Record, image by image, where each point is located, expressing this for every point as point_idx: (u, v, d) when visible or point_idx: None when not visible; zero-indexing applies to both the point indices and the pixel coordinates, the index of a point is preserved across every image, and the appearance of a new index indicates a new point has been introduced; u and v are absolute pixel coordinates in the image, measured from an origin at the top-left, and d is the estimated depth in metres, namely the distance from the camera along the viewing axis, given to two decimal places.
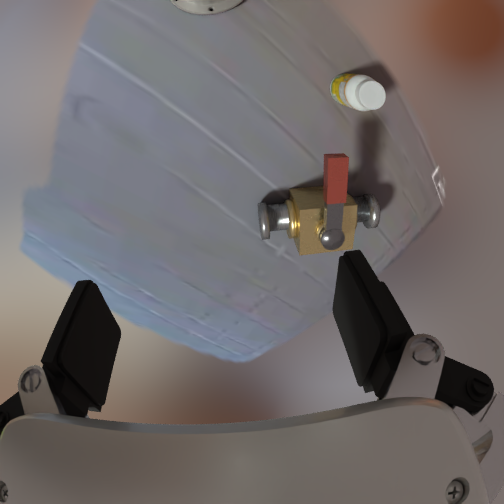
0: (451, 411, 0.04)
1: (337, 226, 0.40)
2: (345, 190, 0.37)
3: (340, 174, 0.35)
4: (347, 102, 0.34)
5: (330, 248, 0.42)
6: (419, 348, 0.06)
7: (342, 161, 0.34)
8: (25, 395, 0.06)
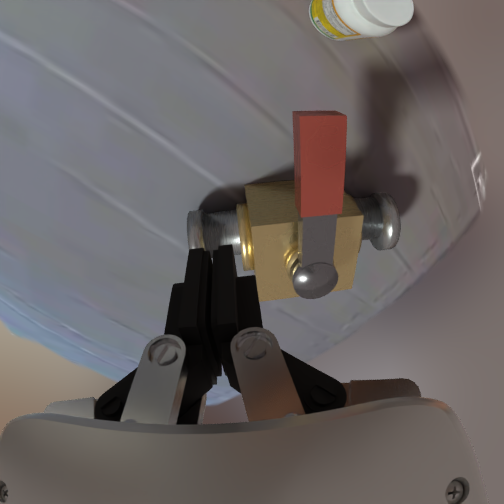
0: (451, 411, 0.04)
1: (324, 258, 0.21)
2: (340, 188, 0.17)
3: (329, 153, 0.16)
4: (339, 20, 0.14)
5: (310, 296, 0.23)
6: (246, 346, 0.07)
7: (332, 124, 0.15)
8: (161, 369, 0.07)
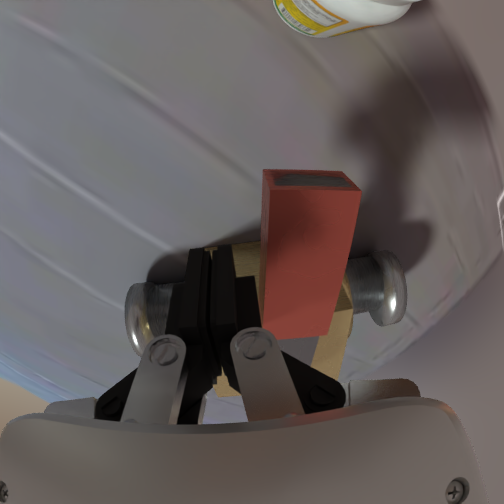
0: (451, 411, 0.04)
1: None
2: (330, 305, 0.11)
3: (319, 255, 0.09)
4: (310, 0, 0.08)
5: None
6: (246, 346, 0.07)
7: (333, 206, 0.08)
8: (161, 369, 0.07)
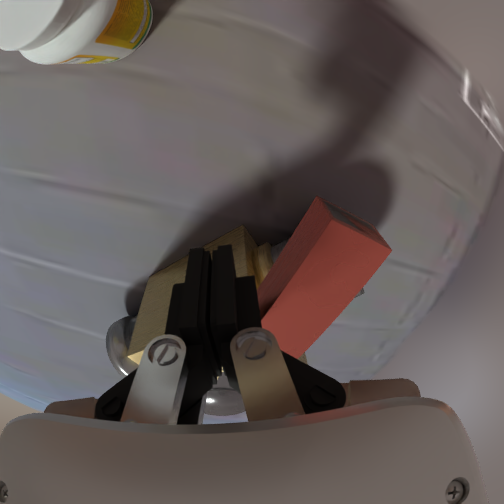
0: (451, 411, 0.04)
1: None
2: (316, 333, 0.12)
3: (334, 289, 0.10)
4: None
5: (206, 412, 0.16)
6: (246, 346, 0.07)
7: (367, 253, 0.09)
8: (161, 369, 0.07)
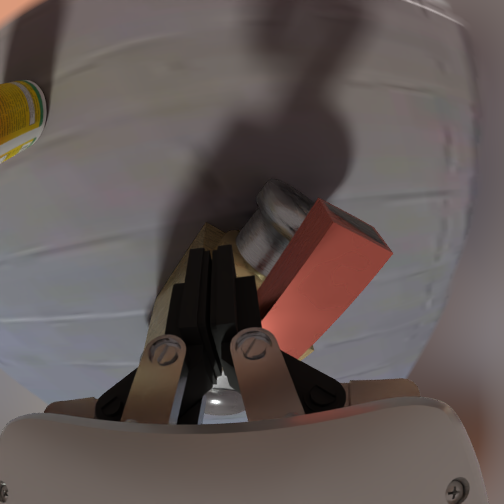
0: (451, 411, 0.04)
1: None
2: (316, 335, 0.12)
3: (334, 291, 0.10)
4: None
5: (205, 411, 0.16)
6: (246, 346, 0.07)
7: (368, 256, 0.09)
8: (161, 369, 0.07)
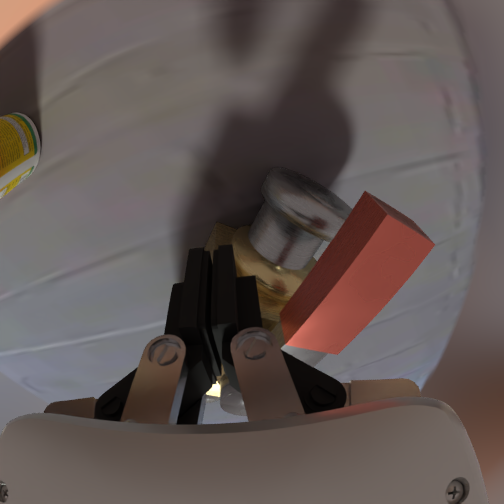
0: (451, 411, 0.04)
1: None
2: (359, 328, 0.11)
3: (381, 283, 0.10)
4: None
5: (236, 412, 0.16)
6: (246, 346, 0.07)
7: (414, 248, 0.09)
8: (161, 369, 0.07)
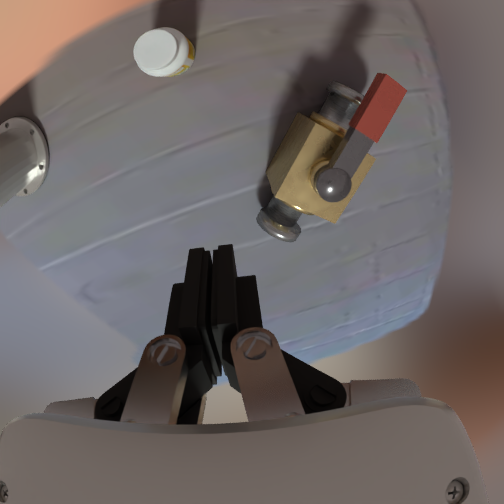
0: (451, 411, 0.04)
1: (349, 169, 0.27)
2: (384, 126, 0.24)
3: (389, 102, 0.22)
4: (168, 75, 0.24)
5: (324, 196, 0.28)
6: (246, 345, 0.07)
7: (398, 89, 0.22)
8: (160, 369, 0.07)
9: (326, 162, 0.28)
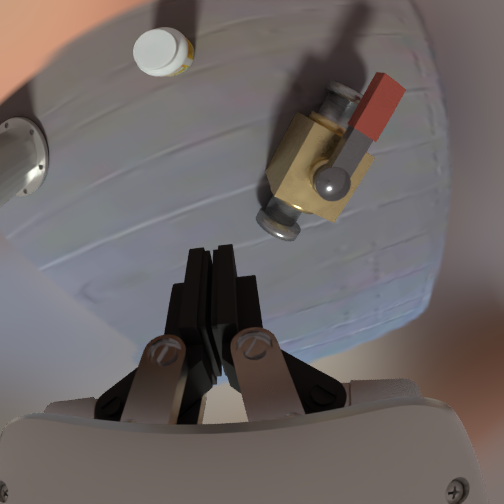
0: (451, 411, 0.04)
1: (348, 168, 0.27)
2: (383, 125, 0.24)
3: (388, 101, 0.22)
4: (167, 74, 0.24)
5: (323, 195, 0.28)
6: (246, 345, 0.07)
7: (397, 88, 0.22)
8: (160, 369, 0.07)
9: (325, 161, 0.28)
